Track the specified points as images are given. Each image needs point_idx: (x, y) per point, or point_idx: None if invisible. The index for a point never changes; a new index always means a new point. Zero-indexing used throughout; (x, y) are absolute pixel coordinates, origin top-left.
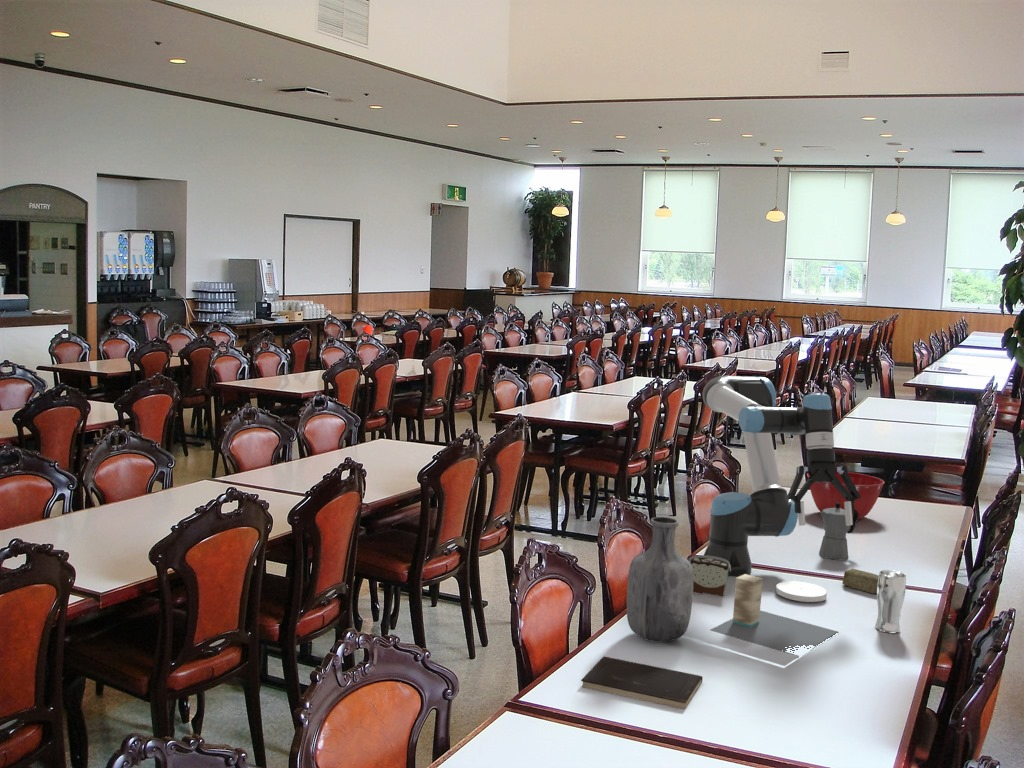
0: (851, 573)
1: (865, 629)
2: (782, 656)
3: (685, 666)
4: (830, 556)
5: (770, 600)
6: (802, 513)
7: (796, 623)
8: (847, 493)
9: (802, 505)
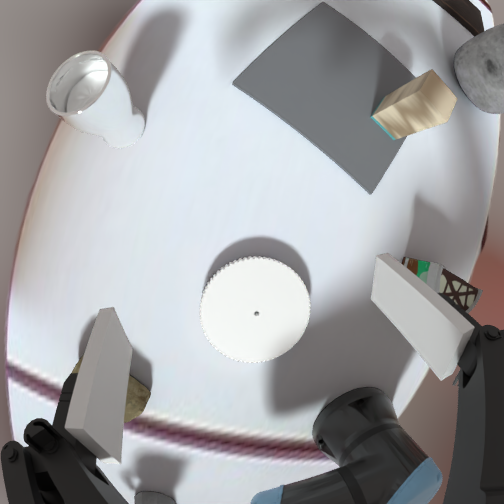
0: (131, 396)
1: (167, 116)
2: (342, 10)
3: (433, 15)
4: (160, 496)
5: (325, 264)
6: (423, 283)
7: (306, 115)
8: (79, 491)
9: (451, 313)
